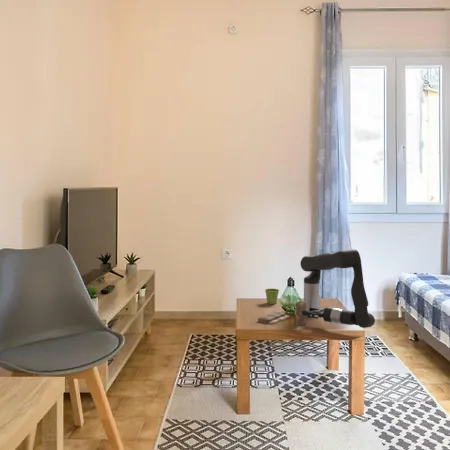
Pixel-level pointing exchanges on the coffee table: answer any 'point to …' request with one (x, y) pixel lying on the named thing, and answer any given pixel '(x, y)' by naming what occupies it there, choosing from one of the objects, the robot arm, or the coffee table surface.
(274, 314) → the floor board
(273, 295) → the plant pot
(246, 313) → the coffee table surface
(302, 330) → the coffee table surface
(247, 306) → the coffee table surface
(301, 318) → the plank
